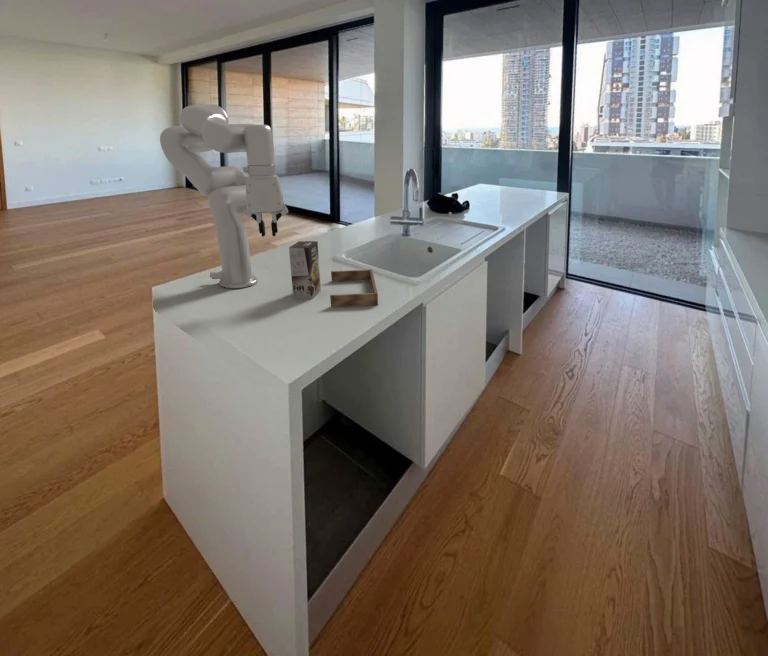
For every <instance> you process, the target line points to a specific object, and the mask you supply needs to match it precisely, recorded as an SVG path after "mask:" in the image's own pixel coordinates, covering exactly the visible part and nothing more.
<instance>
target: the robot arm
mask: <svg viewBox="0 0 768 656" xmlns="http://www.w3.org/2000/svg"><path fill="white" fill-rule="evenodd" d="M179 121H180V122H181V125H173V126H169V127H167V128H165V129H164V130H162V132H161V133H160V137H159V142H160V146H161V150H162V152H163V155H164V156H165V158H166V159H167V161H168V162H169V163H170V165H172V167H174V168H175V169H176V170H177V171H178V172H180V173H181V174H182V175H183V176H185V177H186V178H187V180H188V181H189V182H190V183H191V184H192V185H193V186H194V187H195V188H196V190H198V191H199V193H200V194H201V195H203V196H204V197H206V198H208V199H207V201H208V206H209V209H210V212H211V214H212V218H213V222H214V227H215V231H216V238H217V244H218V251H219V257H220V259H219V260H220V265H221V270H220V271H217V272H216V271H210V272H209V278H210V279H212V280H217V279H218V280H219V281H218V283H219V285H218V286H220V287H221V286H222V287H221V288H224V287H225V289H242V288H243V289H244V288H247V287H251V286H254V285H256V284H257V283H258V280H259V279H258V277H257V276H256V275H253V272H252V262H251V253H250V247H249V246H250V244H249V238H248V230H247V229H246V226H245V224H243V222H242V221H241V220H240V219H239V217H242V216H248V217H250V218H252V219H253V220H254V221H255V222H257V224H258V232H259V234H261V238H262V237H263V238H264V237H265V236H266V226H265V221H264V219H263V213H264V214H265V213H269V214H270V213H271V223H270V227H271V234H272V235H271V236H272V237H276V235H277V233H278V223H277V222H278V221H279V220H280V218H281V217H283V216H284V215H287V214H288V213H289V209H288V207H287V206H286V204H285V202H284V196H283V189H282V185H281V181H280V178H279V175H277V173H276V161H275V153H274V143H273V142H274V141H273V131H272V128H271V127H270V125H268V124H253V123H229V116H228V114H227V112H226V110H224V108H222V107H221V106H219V105H215V104H201V105H200V104H192V105H188V106H186V107H184V108H183V109H182V110H181V112H180V115H179ZM212 150H213V151H216V152H219V153H222V154H232V153H246V161H247V166H245V167H242V170H241V169H240V168H238V167H236V166H232V165H230V166H229V165H228V166H225V165H224V166H213V165H211V164H210V163H208V161H207V160H206V159H205V158H204V157H202V156H200V155H198V154H196V153H204V152H205V153H206V152H210V151H212ZM245 173H247V175H248V176H247V175H246V174H245Z"/></svg>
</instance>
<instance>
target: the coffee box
mask: <svg viewBox="0 0 768 656" xmlns="http://www.w3.org/2000/svg"><path fill="white" fill-rule="evenodd" d="M318 245H319V244H318V241H314V240H309V241H308V240H306V241H304V240H303V241H302V240H301V241H297V242H296V243H294V244H292V245H291V246H289V247H288V249H289V263H290V274H291V287H292V298H293V299H301V300H303V299H304V300H313V299H314V298H315V297H316V296H317V294H319V293H320V292H321V290H322V289H321V287H322V285H321V273H320V259H319V257H320V256H319V246H318Z"/></svg>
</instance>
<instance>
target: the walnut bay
mask: <svg viewBox="0 0 768 656" xmlns="http://www.w3.org/2000/svg"><path fill="white" fill-rule="evenodd" d="M330 274H331V282H332V283H334V282H335V283H340V282H361V280H364V281H370V282H369V283H370V286H371V291H372V292H370V293H367V292H366V293H364V292H363V293H345V294H342V293H340V294H330V295H329V297H330V308H340V307H341V308H342V307H345V308H346V307H362V306H363V305H367V306H378V305H379V297H378V290H377V286H376V281H375V277H374V272H373V269H355V270H353V269H352V270H331V271H330ZM363 307H364V306H363Z"/></svg>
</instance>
